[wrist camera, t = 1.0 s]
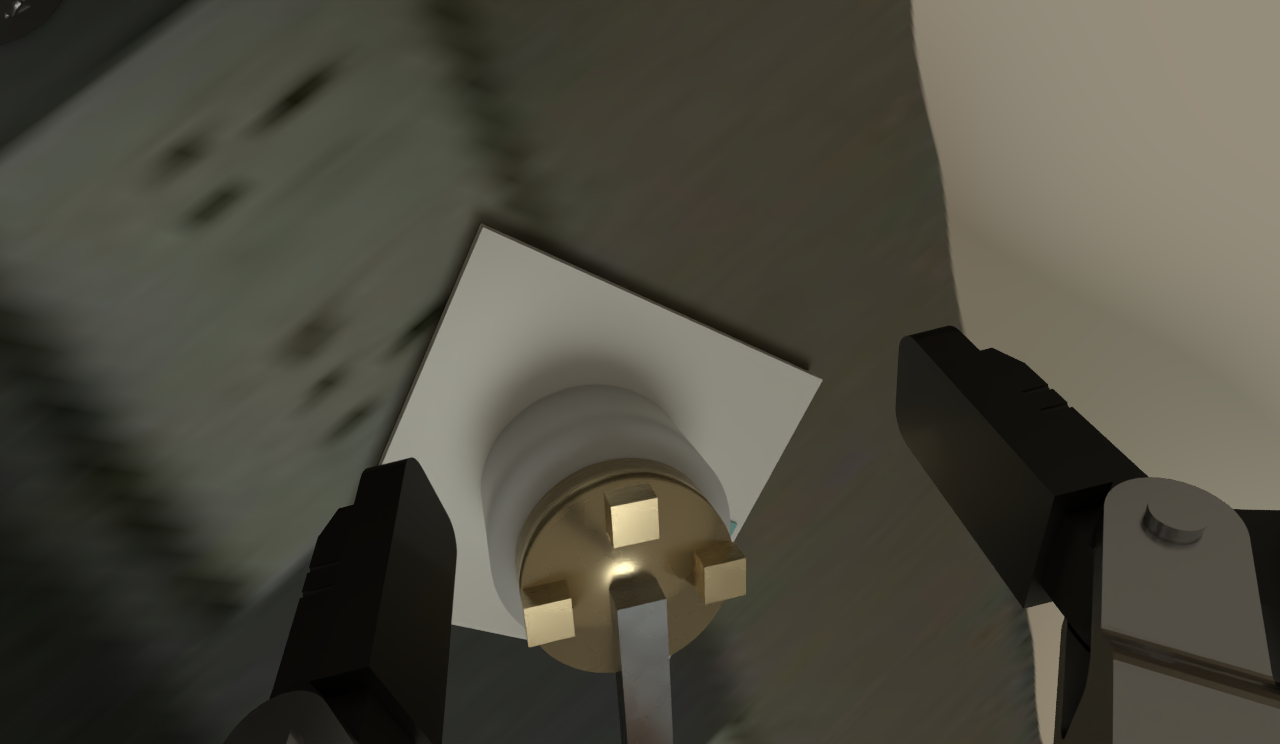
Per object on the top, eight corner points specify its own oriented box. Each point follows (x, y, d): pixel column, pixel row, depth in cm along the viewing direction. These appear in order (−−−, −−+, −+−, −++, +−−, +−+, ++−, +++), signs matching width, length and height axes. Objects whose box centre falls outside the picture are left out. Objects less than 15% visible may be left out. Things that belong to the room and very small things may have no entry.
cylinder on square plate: (329, 580, 35) (303, 688, 28) (480, 222, 31) (494, 248, 24) (656, 650, 42) (699, 749, 36) (809, 371, 39) (888, 421, 32)
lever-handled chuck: (502, 479, 27) (550, 718, 16) (711, 441, 29) (880, 628, 18) (547, 801, 33) (604, 1132, 22) (716, 750, 36) (843, 1029, 25)
